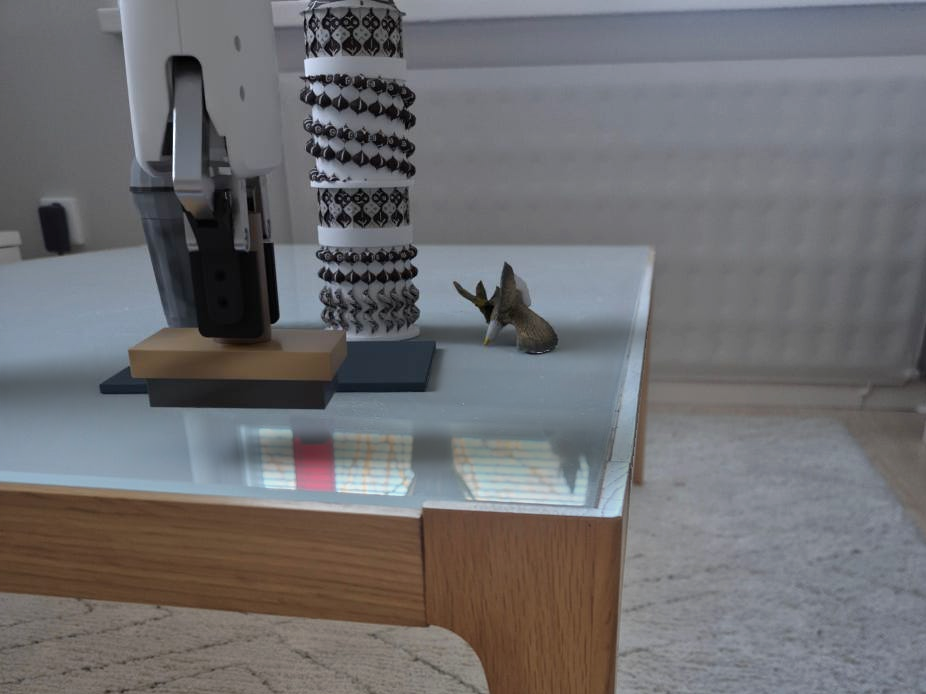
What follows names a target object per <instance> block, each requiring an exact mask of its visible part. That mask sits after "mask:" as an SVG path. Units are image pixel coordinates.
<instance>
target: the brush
mask: <svg viewBox="0 0 926 694" xmlns="http://www.w3.org/2000/svg"><path fill="white" fill-rule="evenodd" d="M230 212H231V210H230ZM248 221H249V235H250V250H249V251H258V260H259V271H260V282H261V292H262V303H263V314H264V325H265V331H264V333H263V335H262V336H260V337H259V338H206V337H203V336H202V335H201V334H200V333H199V330H198V328H169V326H167V327H166V326H165V327H163V328H161V329H160V330H158V331H156V332H154V333H153V334H151V335H150V336H148V337H146V338H144V339H143V340H142V341H140V342H138V343H136V344H135V345H132V346H131V347H130V348H128V349H127V354H128V362H129V366H130V368H131V374H132V377H133V378H146V383H147V389H148V393H147V395H148V402H149V407H150V408H167V409H168V408H169V409H171V408H172V409H174V408H175V409H177V408H178V409H180V408H181V409H245V410H246V409H247V410H250V409H251V410H253V409H254V410H310V411H311V410H312V411H313V410H315V411H316V410H317V411H318V410H320V411H321V410H322V411H323V410H324V411H325V410H326V409H327V408H328V405H329V404H330V402H331V401H332V399H333V397H334V395H335V394H336V393H337V391H336V390H337V388H338V387H339V381H338V369H339V368H340V366H341V364H342V363H343V361H344V360H345V358H346V357H347V339H346V330H325V329H314V328H313V329H310V328H309V329H308V328H307V329H304V328H303V329H302V328H301V329H300V328H272V324H271V323H270V312H269V301H268V290H267V279H266V268H265V257H264V246H263V235H262V224H261V214H260V212H255V211H248Z"/></svg>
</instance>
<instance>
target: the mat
mask: <svg viewBox="0 0 926 694" xmlns="http://www.w3.org/2000/svg"><path fill="white" fill-rule="evenodd" d="M436 349H437V341H436V340H399V341H347V357H346V358H345V360H344V361H343V363H342V364H341V366H340V368H339V369H338V381H339V387H338V388H337V390H336V392H425V391H426V388H427V385H428V380H429V377H430V373H431V368H432V365H433V361H434V357H435V353H436ZM98 387H99V393H101V394H148V389H147V383H146V378H133V377H132V374H131V368H130V365H128V366H126V367H125V368H123V369H122V370H120V371H118V372H117V373H115V374H113V375H112V376H109V378H107V379H106V380H104V381H103V382H101V383H99V384H98Z"/></svg>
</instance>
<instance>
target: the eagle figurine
mask: <svg viewBox="0 0 926 694" xmlns="http://www.w3.org/2000/svg"><path fill="white" fill-rule="evenodd" d="M452 284H453V286H454V288H455V290H456V291H457V293H458V294H459V295H460V296H461V297H462V298H464V299H465V300H467V301H469V302H471V303H472V304H474V305H475V307H476V308H478V310H479V312H480V313H481V314H482V315H483V318H484V319H485V323H486V324H488V327H487V329H486V334H485V340H484V342H483V346H487V345H488V344H489V343H490V342H492V341H494V340H496V339H497V338H498V336H499V334H500V333H501V331H502V329H504V328H505V327H506V326H508V325H512V326H513V328H514V329H515V332H516V348H517V350H518V351H523V352H524V353H531V354H533V353H537V352H544V351H545V352H547V351H546V350H550V351H551V350H552V348H555V349H556V347H558V346H559V338H558V334H557V332H556V331H555V329H554V328H553V326H552V325H551V324H550V323H549V322H548V321H547V320H546V319H544V318H543V317H542V316H541V315H539V314H538V313H536V312H535V311H534V310H533V309H531V308H530V307H531V306H532V298H531V295H530V290H529V288H528V285H527V283H526V281H525V280H523V279H522V278H521V276H519V275H518V274H517V273H515V272H514V269H513V266H512V265H510V264H509V263H508V262H507V261H504V262H503V266H502V271H501V275H500V282H499V286H498V285H496V286H495V290H494V293H493V294H492V296H491V297H490V298H489V299H488V296H487V290H486V288H485V286H484V283H483V280H481V279H480V280H479V282H478V283H477V284H476V286H475V295H474V294H472V293H471V292H469V291H468V290H466V288H464V287H463V286H462V285H461V284H460V283H459V282H457V281H456V280H454V281H453V282H452Z"/></svg>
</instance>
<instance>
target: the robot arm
mask: <svg viewBox="0 0 926 694" xmlns="http://www.w3.org/2000/svg"><path fill="white" fill-rule="evenodd" d="M118 2H119V12H120V25H121V34H122V36H121V37H122V44H123V46H122V47H123V54H124V55H123V56H124V65H125V74H126V75H125V76H126V82H127V83H126V85H127V92H128V93H127V95H128V102H129V103H128V104H129V111H130V112H129V113H130V121H131V131H132V140H133V146H134V153H135V154H136V159H137V161H138V163H139V165H140V166H141V167H142V168H143V170H144V171H145V172H147V173H148V174H149V175H150V176H152V177H170V176H173V186H174V191H175V194H176V196H177V197H178V199H179V200H180V202H181V207H182V211H183V215H184V225H185V235H186V243H187V247H188V250H189V251H188V252H189V260H190V268H191V276H192V284H193V292H194V300H195V308H196V316H197V324H198V330H199V333H200V334H201V335H202V336H203V337H206V338H259V337H260V336H262V335H263V333H264V331H265V325H264V314H263V303H262V292H261V282H260V271H259V260H258V251H249V250H250V235H249V221H248V211H255V212H260V214H261V224H262V235H263V246H264V257H265V268H266V279H267V290H268V301H269V312H270V323H271V325H275V324H276V323H277V322H278V321H280V318H281V313H280V300H279V290H278V289H279V288H278V278H277V265H276V254H275V243H274V242H272V237H273V236H272V235H273V230H272V228H273V227H272V219H271V210H270V200H269V199H270V198H269V191H268V183H267V182H268V181H267V180H268V179H267V175H269V174H270V173H273V171H275V170H276V169H277V168H278V167H279V166H280V165H281V163H282V160H283V122H282V106H281V91H280V90H281V89H280V79H279V67H278V66H279V65H278V56H277V55H278V54H277V44H276V34H275V33H276V32H275V26H274V14H273V5H272V0H119V1H118ZM135 154H134V155H135ZM220 168H230V171H220ZM230 210H231V212H230Z"/></svg>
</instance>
